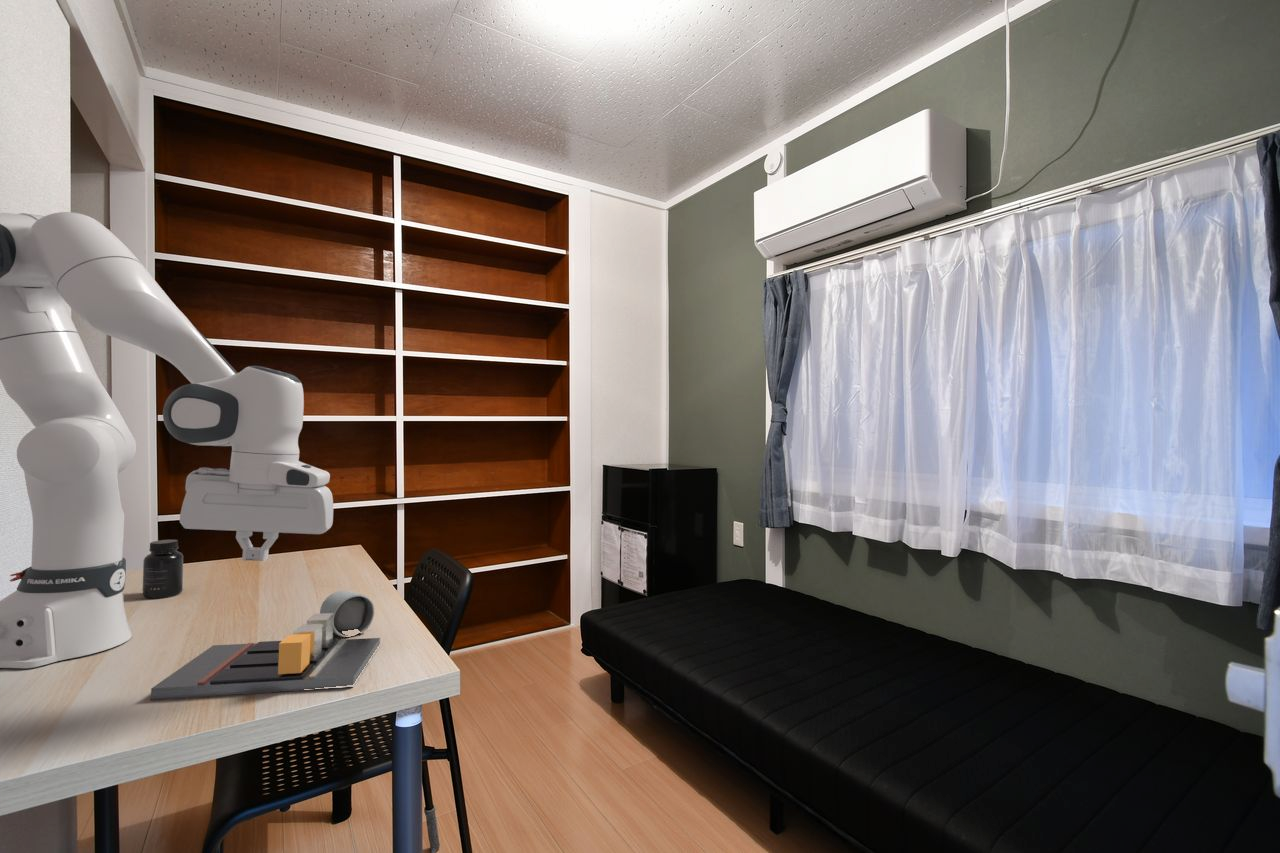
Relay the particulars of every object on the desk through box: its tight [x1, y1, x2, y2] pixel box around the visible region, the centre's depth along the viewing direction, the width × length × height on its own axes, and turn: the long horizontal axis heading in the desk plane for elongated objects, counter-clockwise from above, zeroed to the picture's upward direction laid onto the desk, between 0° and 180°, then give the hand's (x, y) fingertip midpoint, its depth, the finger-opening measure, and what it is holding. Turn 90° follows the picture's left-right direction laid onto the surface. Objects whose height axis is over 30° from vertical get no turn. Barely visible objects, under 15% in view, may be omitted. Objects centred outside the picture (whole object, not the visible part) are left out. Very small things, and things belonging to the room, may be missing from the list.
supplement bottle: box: [142, 539, 184, 600], centre depth 124 cm, size 7×7×12 cm
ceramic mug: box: [319, 590, 375, 638], centre depth 104 cm, size 11×8×8 cm
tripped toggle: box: [278, 634, 311, 674], centre depth 84 cm, size 3×4×4 cm
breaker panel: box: [150, 613, 381, 701], centre depth 88 cm, size 26×16×6 cm, turn 102°
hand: (254, 560), depth 86 cm, fingers closed
